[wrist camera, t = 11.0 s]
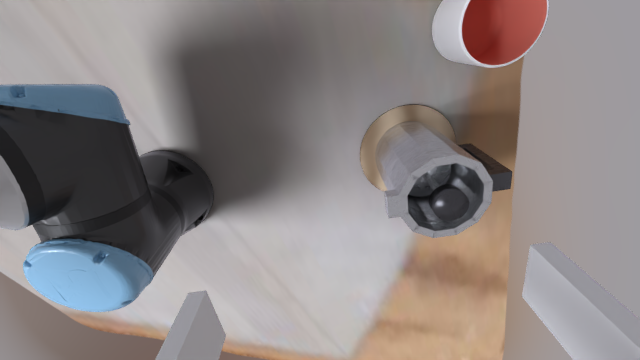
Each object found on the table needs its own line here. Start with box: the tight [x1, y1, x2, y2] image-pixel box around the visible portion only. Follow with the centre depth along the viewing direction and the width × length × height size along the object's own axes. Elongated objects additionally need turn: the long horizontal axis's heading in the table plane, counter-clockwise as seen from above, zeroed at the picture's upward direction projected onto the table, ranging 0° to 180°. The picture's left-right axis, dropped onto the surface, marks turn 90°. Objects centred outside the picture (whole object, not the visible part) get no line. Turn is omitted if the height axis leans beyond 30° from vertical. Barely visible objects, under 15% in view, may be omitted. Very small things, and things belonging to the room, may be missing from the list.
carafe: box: [375, 121, 512, 238], centre depth 43 cm, size 16×11×16 cm
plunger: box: [409, 164, 469, 221], centre depth 39 cm, size 8×8×11 cm
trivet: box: [360, 105, 456, 191], centre depth 51 cm, size 16×16×1 cm
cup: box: [432, 0, 549, 68], centre depth 38 cm, size 10×10×10 cm
